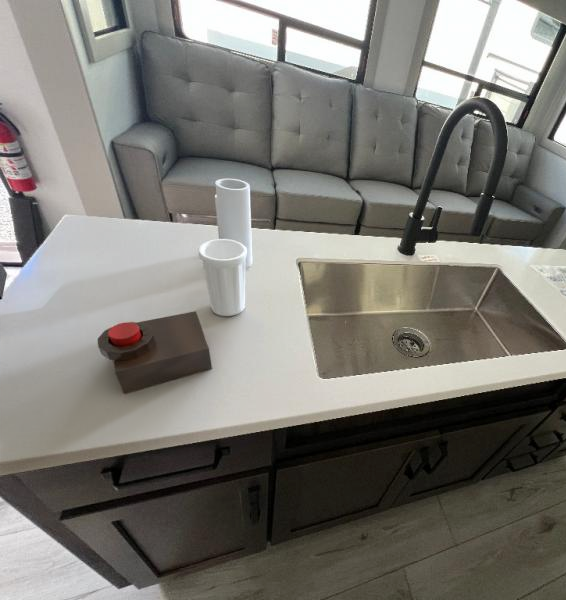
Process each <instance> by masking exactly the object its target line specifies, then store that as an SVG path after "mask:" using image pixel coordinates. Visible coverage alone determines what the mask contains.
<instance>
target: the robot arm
mask: <svg viewBox="0 0 566 600" xmlns="http://www.w3.org/2000/svg"><path fill="white" fill-rule="evenodd" d="M7 276H8V272H7V271H6V269H5V267H4V265H3V264H2V262H1V261H0V301H1V300H3V297H4V291H5V287H6V281H7Z"/></svg>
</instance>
